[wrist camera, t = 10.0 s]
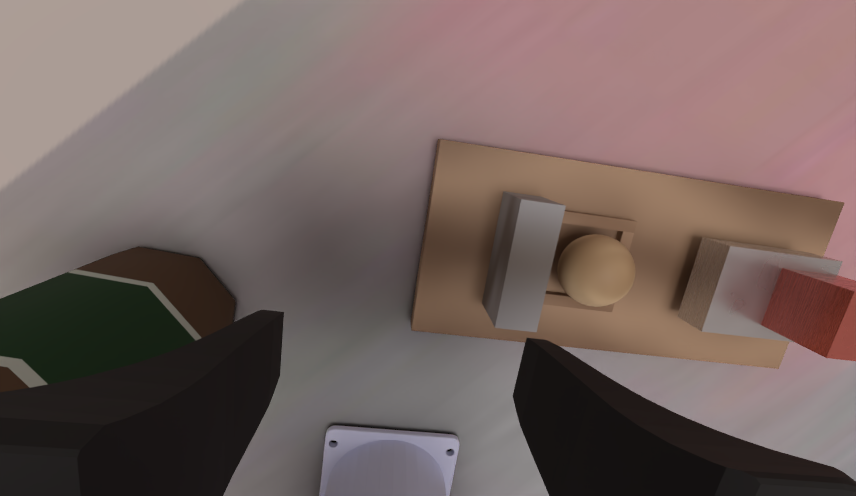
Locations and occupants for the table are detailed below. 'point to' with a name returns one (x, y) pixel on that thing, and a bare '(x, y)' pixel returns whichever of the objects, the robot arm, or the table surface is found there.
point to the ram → (772, 297)
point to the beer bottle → (108, 317)
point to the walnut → (596, 270)
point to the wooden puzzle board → (579, 216)
